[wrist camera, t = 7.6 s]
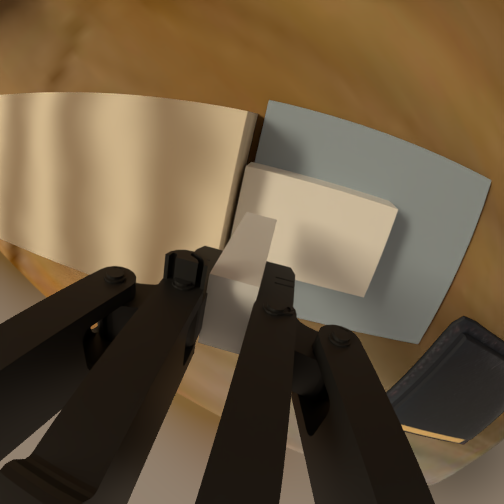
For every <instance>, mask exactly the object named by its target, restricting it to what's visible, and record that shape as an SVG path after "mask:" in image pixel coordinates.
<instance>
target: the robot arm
mask: <svg viewBox="0 0 504 504" xmlns="http://www.w3.org/2000/svg"><path fill="white" fill-rule="evenodd" d="M276 222H277V220H276V219H272V218H269V217H265V216H261V215H257V214H253V213H249V212H246V214H245V215H244V217H243V219H242V220H241V222H240V224H239V225H238V227H237V229H236V230H235V232H234V234H233V235H232V237H231V239H230V240H229V242H228V244H227V245H226V247H225V249H224V250H219V249H215V248H212V247H208V246H203V247H201V248H198V249H196V250H195V251H189V250H174V251H170V252H168V253H167V254H165V263H164V274H163V279H162V280H161V281H160V282H159V284H156V285H154V284H141V283H136V275H135V273H134V272H132V271H131V270H130V269H127V268H124V267H121V266H110V267H105V268H102V269H100V270H98V271H96V272H94V273H92V274H90V275H88V276H86V277H85V278H83V279H81V280H79V281H77V282H75V283H73V284H71V285H69V286H68V287H66V288H64V289H62V290H60V291H58V292H56V293H55V294H53V295H51V296H49V297H47V298H46V299H44V300H42V301H40V302H38V303H36V304H35V305H33V306H31V307H29V308H28V309H26V310H24V311H22V312H20V313H19V314H17V315H15V316H13V317H12V318H10V319H8V320H6V321H5V322H3V323H1V324H0V461H1V460H2V459H3V458H4V457H6V456H7V455H8V454H9V453H10V452H12V451H13V450H14V449H15V448H16V447H17V446H19V445H20V444H21V443H22V442H23V441H24V440H26V439H27V438H28V437H29V436H31V435H32V434H33V433H34V432H35V431H36V430H38V429H39V428H40V427H41V426H42V425H44V424H45V423H46V422H47V421H48V420H50V419H51V418H52V417H53V416H54V415H55V414H57V413H58V412H59V411H60V410H61V409H62V410H61V412H60V413H59V415H58V416H57V417H56V419H55V420H54V422H53V423H52V424H51V426H50V427H49V429H48V430H47V432H46V433H45V435H44V436H43V438H42V439H41V441H40V442H39V444H38V445H37V447H36V448H35V450H34V451H33V452H32V454H31V455H30V456H29V457H27V458H26V459H16V460H12V461H10V462H8V463H6V464H5V465H4V466H3V468H2V469H1V470H0V504H127V503H128V501H129V498H130V496H131V494H132V491H133V489H134V487H135V484H136V482H137V480H138V478H139V475H140V473H141V470H142V468H143V466H144V464H145V462H146V459H147V457H148V455H149V452H150V450H151V448H152V445H153V443H154V441H155V439H156V437H157V434H158V432H159V430H160V427H161V425H162V423H163V420H164V418H165V416H166V414H167V412H168V409H169V407H170V405H171V403H172V400H173V398H174V396H175V394H176V391H177V389H178V387H179V385H180V383H181V380H182V378H183V376H184V374H185V371H186V369H187V367H188V365H189V363H190V360H191V358H192V356H193V354H194V349H195V342H196V340H197V338H198V335H199V340H198V342H199V343H202V344H205V345H209V346H212V347H215V348H219V349H222V350H226V351H229V352H233V353H237V354H239V357H238V361H237V364H236V368H235V371H234V375H233V378H232V382H231V385H230V388H229V392H228V395H227V399H226V402H225V406H224V409H223V412H222V416H221V420H220V423H219V426H218V430H217V433H216V436H215V440H214V443H213V447H212V450H211V453H210V456H209V460H208V463H207V466H206V469H205V473H204V476H203V479H202V483H201V486H200V489H199V492H198V496H197V499H196V502H195V504H279V500H280V493H281V485H282V477H283V469H284V460H285V451H286V442H287V433H288V423H289V413H290V402H291V397H292V401H293V406H294V410H295V415H296V419H297V424H298V428H299V433H300V437H301V442H302V446H303V451H304V456H305V460H306V464H307V469H308V474H309V478H310V483H311V487H312V492H313V496H314V501H315V504H435V503H434V500H433V498H432V495H431V493H430V490H429V488H428V485H427V483H426V481H425V478H424V476H423V473H422V471H421V469H420V466H419V464H418V462H417V459H416V457H415V455H414V453H413V450H412V448H411V446H410V444H409V441H408V439H407V437H406V435H405V432H404V430H403V428H402V426H401V424H400V422H399V419H398V417H397V415H396V413H395V411H394V409H393V407H392V404H391V402H390V400H389V398H388V396H387V394H386V392H385V390H384V388H383V386H382V384H381V382H380V380H379V377H378V375H377V373H376V371H375V369H374V367H373V365H372V363H371V361H370V359H369V357H368V355H367V353H366V351H365V350H364V348H363V346H362V344H361V342H360V340H359V338H358V337H357V336H356V335H355V334H354V333H353V332H352V331H350V330H349V329H347V328H344V327H342V326H338V325H325V326H323V327H321V328H320V330H319V332H317V331H315V330H313V329H311V328H309V327H307V326H305V325H304V324H302V323H301V322H300V321H299V320H298V319H297V314H296V310H295V309H294V307H293V304H294V287H295V273H294V272H293V270H292V269H291V267H287V266H283V265H279V264H276V263H272V262H268V261H267V257H268V253H269V249H270V245H271V241H272V238H273V234H274V230H275V226H276ZM97 322H98V326H97V327H96V328H94V329H92V330H91V326H92V325H94V324H95V323H97ZM199 333H200V334H199Z"/></svg>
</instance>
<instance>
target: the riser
mask: <svg viewBox="0 0 504 504" xmlns="http://www.w3.org/2000/svg"><path fill="white" fill-rule="evenodd" d="M257 117H258V114H256V113H252V112H249V111H244V110H239V109H233V108H228V107H222V106H217V105H211V104H204V103H198V102H191V101H184V100H176V99H168V98H159V97H150V96H139V95H126V94H111V93H85V92H46V93H22V94H7V95H0V239H2V240H4V241H7V242H9V243H11V244H13V245H16V246H18V247H21V248H23V249H25V250H28V251H30V252H33V253H35V254H37V255H40V256H42V257H45V258H47V259H50V260H52V261H55V262H57V263H60V264H63V265H65V266H68V267H70V268H73V269H76V270H78V271H81V272H84V273H86V274H89V275H90V274H92V273H94V272H96V271H98V270H100V269H102V268H105V267H110V266H121V267H124V268H127V269H130V270H131V271H132V272H134V273H135V275H136V283H141V284H154V285H156V284H159V282H160V281H161V280H162V279H163V274H164V263H165V254H167V253H168V252H170V251H174V250H189V251H195V250H196V249H198V248H201V247H203V246H208V247H212V248H215V249H219V250H224V249H225V247H226V245H227V244H228V242H229V240H230V238H231V233H232V229H233V224H234V219H235V214H236V210H237V205H238V200H239V196H240V191H241V186H242V182H243V177H244V173H245V168H246V165H247V161H248V156H249V152H250V147H251V143H252V138H253V134H254V130H255V125H256V121H257Z"/></svg>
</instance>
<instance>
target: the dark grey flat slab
mask: <svg viewBox="0 0 504 504" xmlns="http://www.w3.org/2000/svg"><path fill="white" fill-rule="evenodd" d="M386 394H387V396H388V398H389V400H390V402H391V404H392V407H393V409H394V411H395V413H396V415H397V417H398V419H399V422H400V424H401V426H402V428H403V430H404V432H408V433H412V434H416V435H420V436H425V437H429V438H434V439H438V440H443V441H448V442H453V443H458V444H465V443H466V442H468V441H469V440H470V439H472V438H474V437H475V436H476V435H477V434H479V433H480V432H481V431H482V430H484V429H485V428H486V427H487V426H488V425H490V424H491V423H492V422H493V421H494V420H495V419H496V418H498V417H499V416H500V415H501V414H502V413H503V412H504V341H503V340H501V339H500V338H498V337H497V336H496V335H494V334H493V333H491V332H490V331H488V330H487V329H486V328H484V327H483V326H482V325H480V324H479V323H478V322H476V321H474V320H472V319H470V318H467V317H465V316H463V317H461V318H459V319H457V320H456V321H454V322H452V323H451V324H450V325H449V326H448V328H447V329H446V330H445V331H444V332H443V333H442V334H441V335H440V336H439V338H438V339H437V340H436V341H435V342H434V343H433V345H432V346H431V347H430V348H429V349H428V350H427V351H426V353H425V354H424V355H423V356H422V357H421V358H420V359H419V360H418V361H417V362H416V364H415V365H414V366H413V367H412V368H411V369H410V370H409V371H408V372H407V373H406V374H405V375H404V376H403V377H402V378H401V379H400V380H399V381H398V382H397V383H396V384H395V385H394V386H393V387H392V388H391V389H390V390H388V391H387V392H386Z"/></svg>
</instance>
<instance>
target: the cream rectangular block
mask: <svg viewBox="0 0 504 504" xmlns="http://www.w3.org/2000/svg"><path fill="white" fill-rule="evenodd" d="M246 212H249V213H253V214H257V215H261V216H265V217H269V218H272V219H276V220H277V222H276V226H275V230H274V234H273V238H272V241H271V245H270V249H269V253H268V257H267V261H268V262H272V263H276V264H279V265H283V266H287V267H291V269H292V270H293V272H294V273H295V280H297V281H301V282H305V283H309V284H313V285H317V286H321V287H324V288H328V289H332V290H336V291H340V292H344V293H348V294H352V295H356V296H360V297H364V296H365V293H366V291H367V289H368V286H369V284H370V282H371V279H372V277H373V275H374V272H375V270H376V267H377V265H378V262H379V260H380V257H381V255H382V252H383V250H384V247H385V245H386V242H387V239H388V237H389V234H390V231H391V229H392V226H393V223H394V220H395V217H396V215H397V212H398V209H397V208H396V207H395V206H394V205H393V204H392V203H391V202H390V201H388V200H385V199H382V198H379V197H376V196H373V195H370V194H366V193H363V192H360V191H357V190H354V189H350V188H347V187H344V186H341V185H337V184H334V183H330V182H327V181H323V180H320V179H316V178H313V177H309V176H305V175H302V174H298V173H294V172H290V171H287V170H283V169H279V168H275V167H271V166H267V165H263V164H259V163H254V162H250V163H249V164H248V165H247V166H246V168H245V173H244V177H243V182H242V186H241V191H240V196H239V200H238V205H237V210H236V214H235V219H234V224H233V229H232V233H231V237H232V235H233V234H234V232H235V230H236V229H237V227H238V225H239V224H240V222H241V220H242V219H243V217H244V215H245V214H246ZM230 239H231V238H230Z"/></svg>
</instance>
